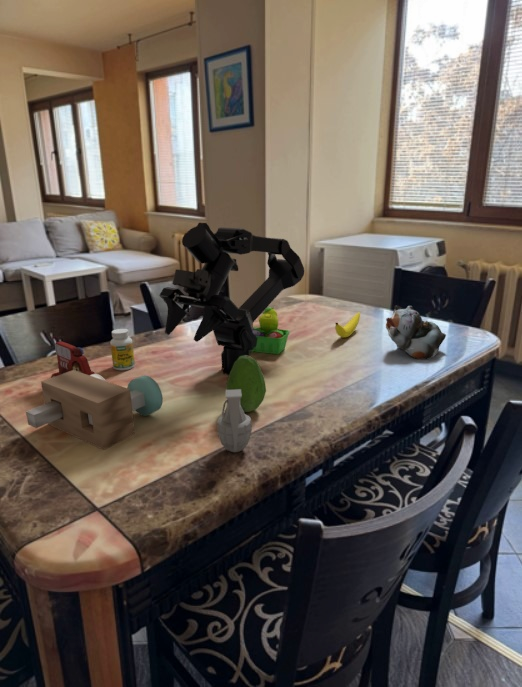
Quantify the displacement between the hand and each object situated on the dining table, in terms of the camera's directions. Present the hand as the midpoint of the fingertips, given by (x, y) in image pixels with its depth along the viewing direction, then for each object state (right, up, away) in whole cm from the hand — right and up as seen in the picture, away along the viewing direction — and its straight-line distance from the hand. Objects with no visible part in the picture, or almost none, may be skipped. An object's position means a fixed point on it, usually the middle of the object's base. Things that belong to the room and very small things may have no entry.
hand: (180, 337), depth 104 cm
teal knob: (-9, -17, -9) cm, 21 cm away
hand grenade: (+12, -20, -18) cm, 30 cm away
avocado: (+14, -15, -3) cm, 21 cm away
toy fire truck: (-25, -12, +8) cm, 29 cm away
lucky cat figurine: (+58, -4, +29) cm, 65 cm away
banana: (+43, +1, +44) cm, 61 cm away
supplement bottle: (-18, -7, +21) cm, 29 cm away
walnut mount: (-16, -18, -11) cm, 26 cm away
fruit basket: (+19, -3, +33) cm, 38 cm away
